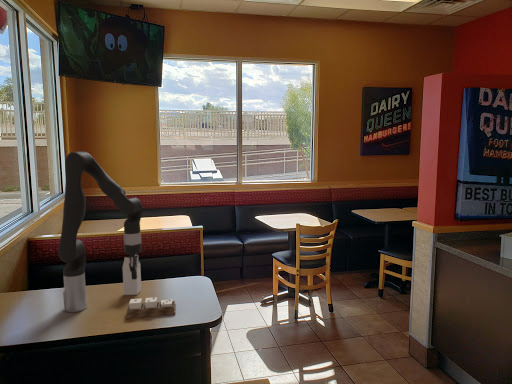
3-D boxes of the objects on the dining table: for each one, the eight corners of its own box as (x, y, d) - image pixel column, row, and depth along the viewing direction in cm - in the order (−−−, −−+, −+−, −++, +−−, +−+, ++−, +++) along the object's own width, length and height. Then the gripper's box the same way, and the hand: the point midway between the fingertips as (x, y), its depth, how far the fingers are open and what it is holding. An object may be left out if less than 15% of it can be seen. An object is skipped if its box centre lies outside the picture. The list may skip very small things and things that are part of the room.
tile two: (145, 308, 183) (145, 301, 183) (146, 304, 188) (146, 297, 188) (156, 307, 184) (156, 301, 184) (157, 303, 189) (157, 296, 188)
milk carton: (137, 295, 207) (135, 259, 205) (123, 295, 207) (121, 259, 205) (141, 290, 214) (139, 255, 212) (128, 290, 214) (126, 255, 212)
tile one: (129, 309, 182) (129, 303, 182) (131, 305, 187) (130, 298, 186) (140, 308, 183) (140, 302, 182) (142, 304, 188) (141, 298, 187)
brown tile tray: (125, 318, 180) (125, 311, 179) (128, 309, 189) (128, 303, 189) (175, 314, 183) (175, 307, 183) (176, 305, 193) (175, 299, 193)
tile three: (161, 310, 185) (160, 304, 184) (161, 306, 189) (161, 299, 189) (172, 309, 185) (171, 303, 185) (172, 305, 190) (172, 299, 190)
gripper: (126, 239, 187) (128, 274, 189) (121, 246, 174) (123, 284, 176) (142, 238, 188) (144, 273, 190) (139, 245, 175) (141, 283, 177)
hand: (134, 278), depth 183 cm, fingers closed
